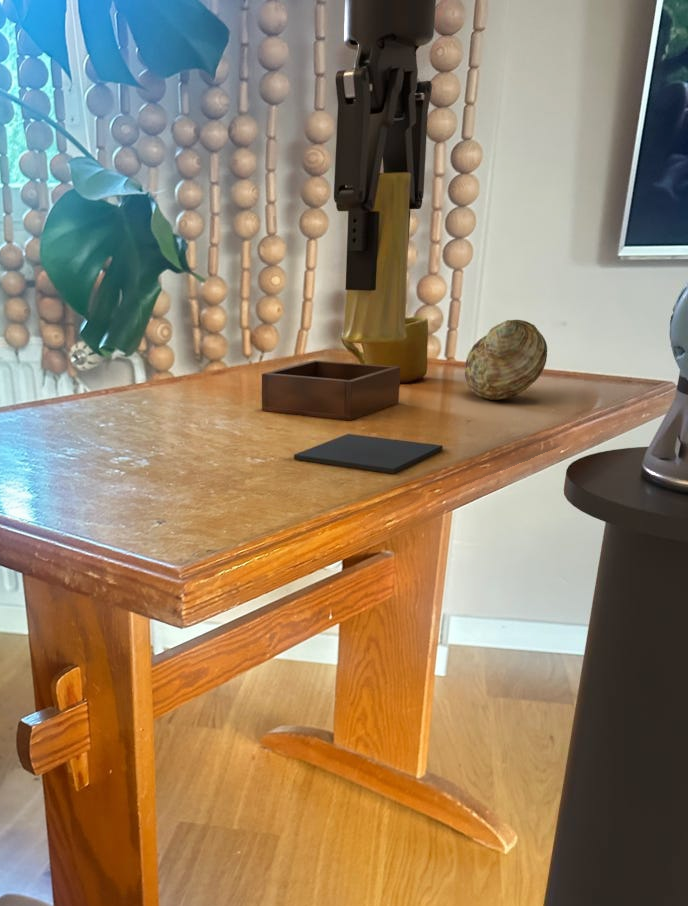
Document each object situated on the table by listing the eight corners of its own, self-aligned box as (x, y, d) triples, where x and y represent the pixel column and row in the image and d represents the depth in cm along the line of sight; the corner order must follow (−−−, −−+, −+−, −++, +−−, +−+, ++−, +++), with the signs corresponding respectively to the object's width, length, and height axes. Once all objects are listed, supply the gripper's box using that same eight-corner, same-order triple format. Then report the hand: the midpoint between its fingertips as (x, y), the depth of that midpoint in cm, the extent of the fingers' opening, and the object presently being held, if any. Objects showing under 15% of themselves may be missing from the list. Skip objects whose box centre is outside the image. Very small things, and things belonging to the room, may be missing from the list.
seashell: (554, 393, 120) (565, 312, 116) (529, 408, 112) (540, 322, 108) (475, 387, 126) (482, 310, 122) (445, 401, 117) (452, 318, 113)
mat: (442, 450, 94) (442, 445, 94) (393, 474, 86) (393, 468, 86) (347, 438, 100) (347, 433, 100) (293, 459, 92) (293, 454, 92)
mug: (448, 361, 134) (432, 295, 129) (422, 394, 128) (405, 326, 123) (374, 372, 142) (356, 310, 137) (346, 404, 136) (326, 340, 131)
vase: (332, 338, 90) (336, 175, 84) (389, 334, 92) (397, 174, 86) (357, 345, 85) (364, 173, 79) (417, 341, 86) (428, 171, 80)
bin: (398, 403, 117) (400, 366, 115) (350, 420, 108) (351, 381, 106) (313, 394, 124) (314, 360, 122) (261, 410, 115) (261, 373, 113)
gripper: (399, 12, 85) (385, 279, 95) (293, -21, 72) (289, 294, 82) (477, -1, 81) (454, 281, 91) (379, -38, 68) (364, 296, 78)
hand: (376, 286), depth 86 cm, fingers closed on vase, 5 cm apart
